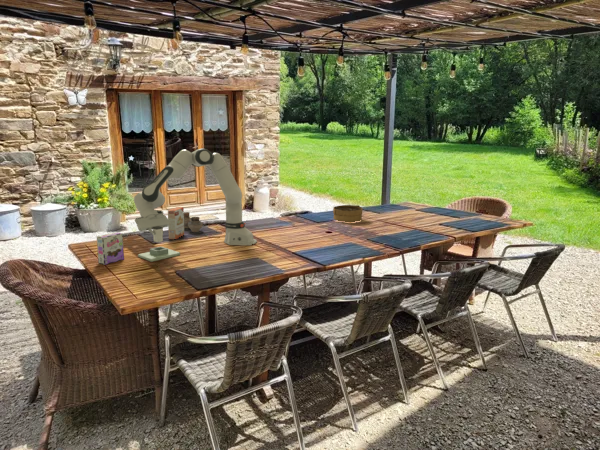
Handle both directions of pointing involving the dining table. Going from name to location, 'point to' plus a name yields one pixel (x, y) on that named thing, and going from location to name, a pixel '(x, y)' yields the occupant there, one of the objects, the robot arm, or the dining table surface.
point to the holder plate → (158, 254)
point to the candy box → (110, 248)
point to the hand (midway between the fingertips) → (158, 233)
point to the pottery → (192, 222)
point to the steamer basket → (347, 213)
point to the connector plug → (158, 234)
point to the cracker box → (176, 222)
